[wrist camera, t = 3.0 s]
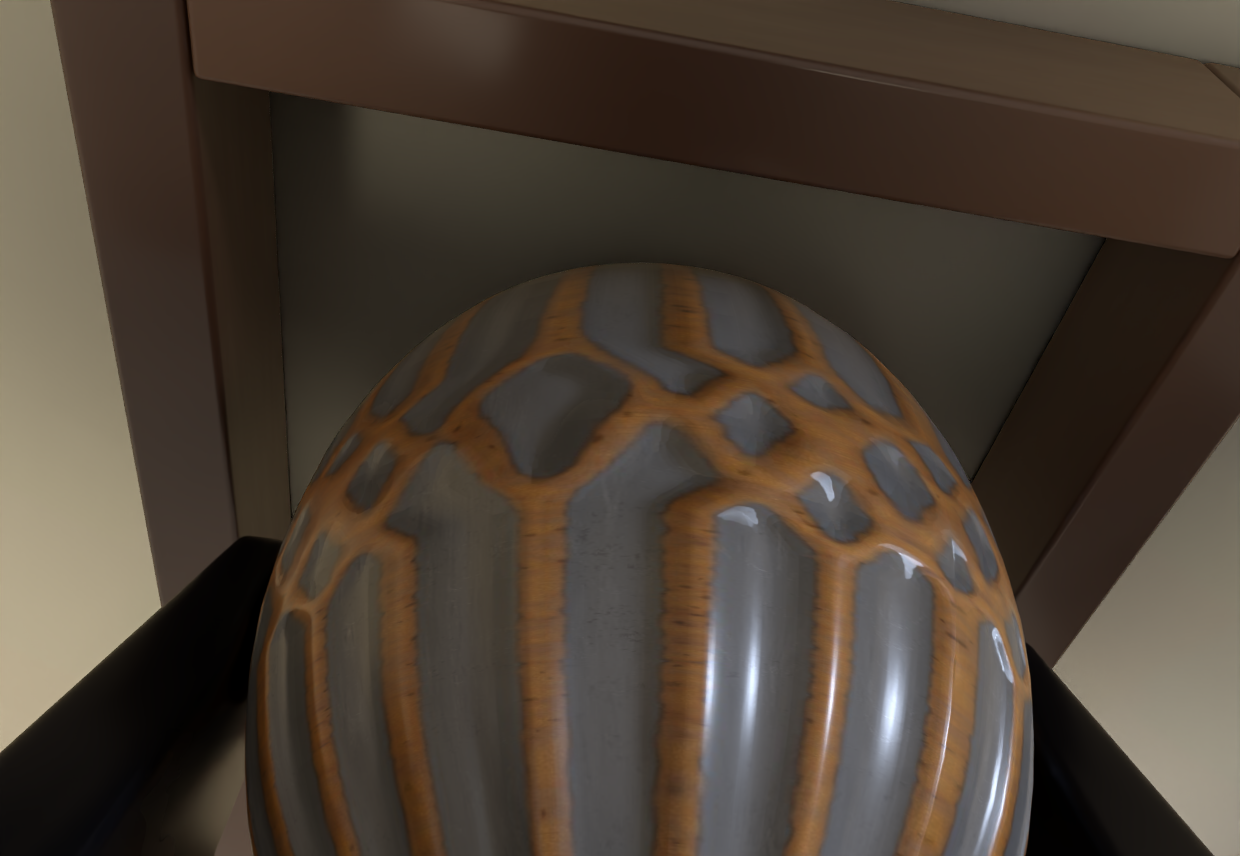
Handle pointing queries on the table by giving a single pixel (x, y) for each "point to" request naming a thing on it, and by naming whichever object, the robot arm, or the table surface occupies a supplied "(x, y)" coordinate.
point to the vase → (639, 598)
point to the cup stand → (696, 135)
